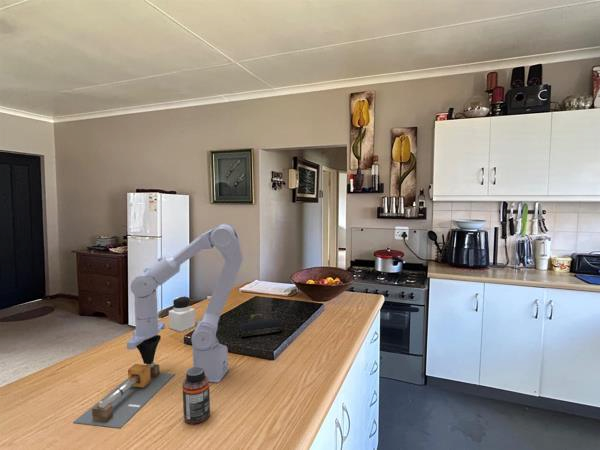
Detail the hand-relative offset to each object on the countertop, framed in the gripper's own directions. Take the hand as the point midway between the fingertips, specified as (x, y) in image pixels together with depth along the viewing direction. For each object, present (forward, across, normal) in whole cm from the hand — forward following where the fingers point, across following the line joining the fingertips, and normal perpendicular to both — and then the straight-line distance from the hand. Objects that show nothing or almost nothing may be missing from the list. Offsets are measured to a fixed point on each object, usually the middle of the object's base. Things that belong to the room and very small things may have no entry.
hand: (148, 362), depth 94 cm
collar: (+4, +4, 0) cm, 6 cm away
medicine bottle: (+5, -37, -10) cm, 38 cm away
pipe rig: (+5, +8, 0) cm, 9 cm away
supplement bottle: (+5, +13, +21) cm, 25 cm away
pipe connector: (+5, -38, +21) cm, 44 cm away
